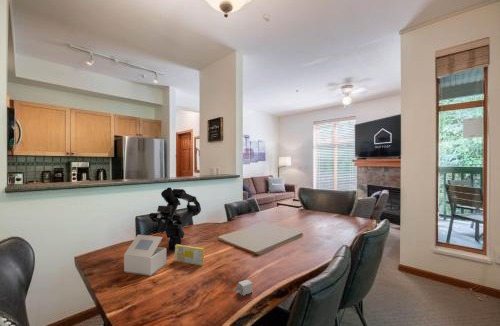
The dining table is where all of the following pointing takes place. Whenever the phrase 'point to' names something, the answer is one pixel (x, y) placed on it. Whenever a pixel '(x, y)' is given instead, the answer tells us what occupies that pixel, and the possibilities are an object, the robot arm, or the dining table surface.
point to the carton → (145, 263)
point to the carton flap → (143, 246)
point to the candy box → (189, 254)
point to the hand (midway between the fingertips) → (159, 232)
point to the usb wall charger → (244, 287)
